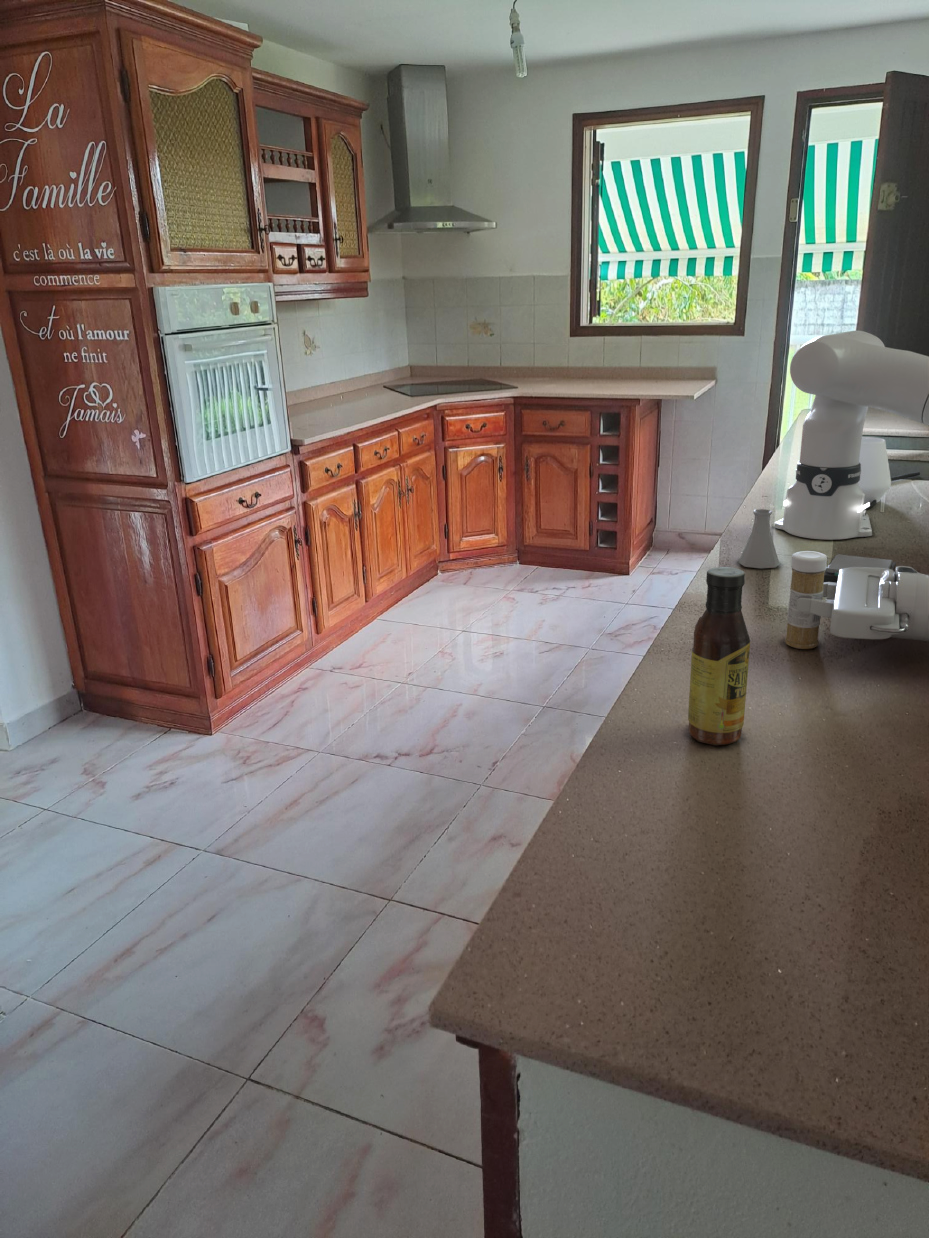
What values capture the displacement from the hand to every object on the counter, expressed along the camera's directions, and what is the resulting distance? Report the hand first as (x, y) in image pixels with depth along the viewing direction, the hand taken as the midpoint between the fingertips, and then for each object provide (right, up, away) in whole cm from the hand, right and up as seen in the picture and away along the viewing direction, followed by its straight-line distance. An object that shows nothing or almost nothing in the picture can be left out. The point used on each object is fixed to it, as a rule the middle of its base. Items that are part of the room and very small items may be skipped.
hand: (799, 596), depth 124 cm
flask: (+7, +7, +38) cm, 39 cm away
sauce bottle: (-18, -17, -22) cm, 33 cm away
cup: (+44, +24, +80) cm, 95 cm away
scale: (+20, +3, +27) cm, 34 cm away
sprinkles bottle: (+1, -7, +2) cm, 7 cm away
